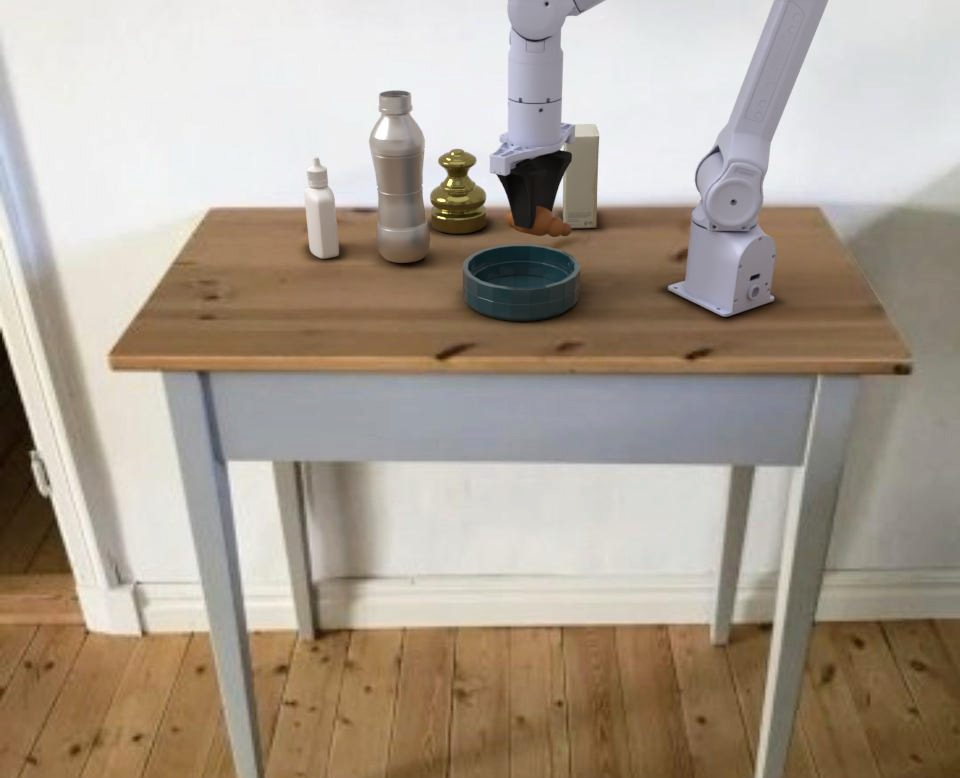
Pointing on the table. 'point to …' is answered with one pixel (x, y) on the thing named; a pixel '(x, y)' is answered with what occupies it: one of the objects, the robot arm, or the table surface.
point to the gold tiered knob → (458, 196)
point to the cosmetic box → (581, 178)
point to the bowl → (521, 282)
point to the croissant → (543, 224)
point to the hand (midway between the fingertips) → (532, 221)
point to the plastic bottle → (399, 180)
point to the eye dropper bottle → (320, 213)
